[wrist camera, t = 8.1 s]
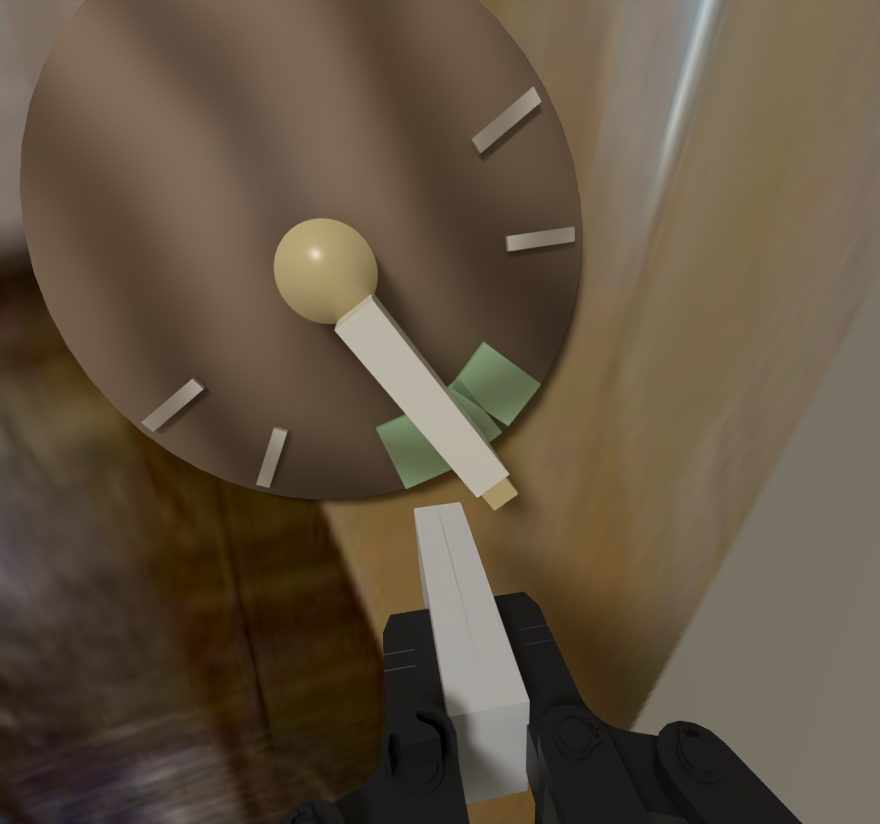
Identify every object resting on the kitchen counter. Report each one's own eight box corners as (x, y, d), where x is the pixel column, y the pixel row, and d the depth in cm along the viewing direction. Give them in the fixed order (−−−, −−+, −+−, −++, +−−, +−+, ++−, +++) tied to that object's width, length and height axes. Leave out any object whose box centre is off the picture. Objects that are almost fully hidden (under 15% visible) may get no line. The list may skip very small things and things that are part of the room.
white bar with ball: (265, 260, 18) (235, 264, 13) (336, 202, 17) (327, 187, 13) (451, 475, 22) (470, 527, 18) (508, 432, 22) (542, 476, 18)
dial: (356, -232, 14) (355, -284, 13) (647, 307, 22) (665, 311, 21) (-96, 215, 16) (-138, 212, 15) (320, 559, 25) (318, 578, 23)
